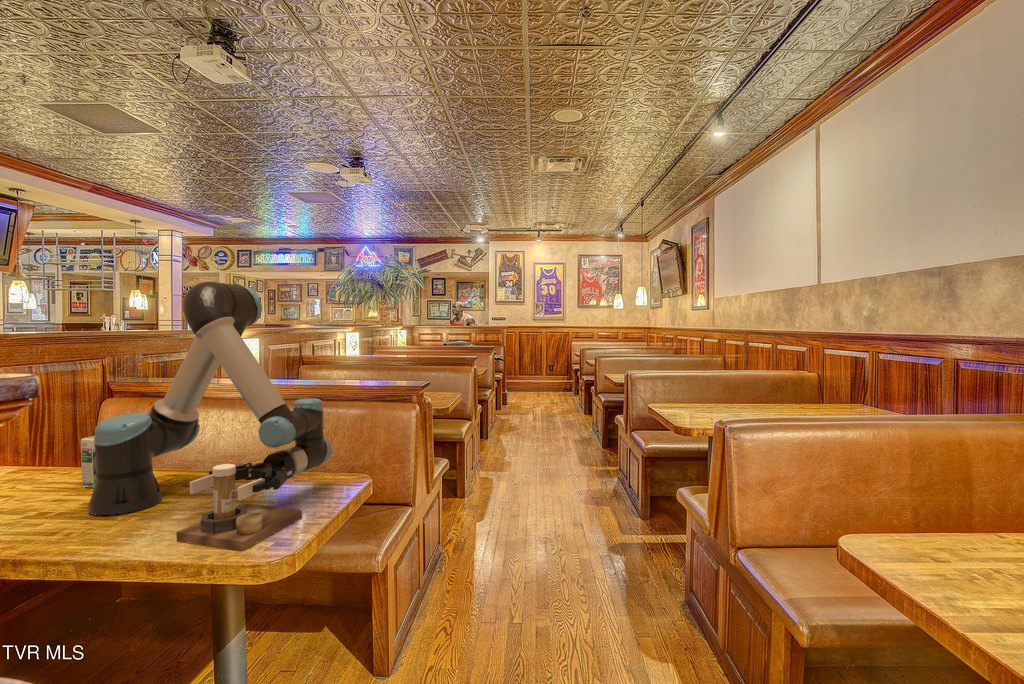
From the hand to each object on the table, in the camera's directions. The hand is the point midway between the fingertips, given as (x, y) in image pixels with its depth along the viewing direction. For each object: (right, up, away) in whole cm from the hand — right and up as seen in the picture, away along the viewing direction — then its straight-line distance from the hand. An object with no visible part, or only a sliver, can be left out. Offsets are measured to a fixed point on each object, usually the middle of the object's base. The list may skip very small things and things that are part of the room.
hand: (214, 490), depth 109 cm
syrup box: (-57, -10, +37) cm, 69 cm away
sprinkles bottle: (+1, -9, +3) cm, 9 cm away
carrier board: (+4, -10, +5) cm, 12 cm away
